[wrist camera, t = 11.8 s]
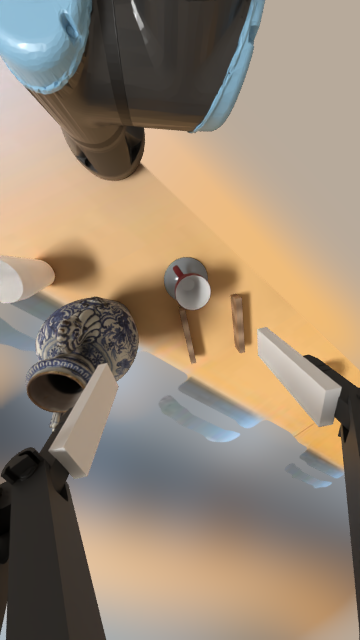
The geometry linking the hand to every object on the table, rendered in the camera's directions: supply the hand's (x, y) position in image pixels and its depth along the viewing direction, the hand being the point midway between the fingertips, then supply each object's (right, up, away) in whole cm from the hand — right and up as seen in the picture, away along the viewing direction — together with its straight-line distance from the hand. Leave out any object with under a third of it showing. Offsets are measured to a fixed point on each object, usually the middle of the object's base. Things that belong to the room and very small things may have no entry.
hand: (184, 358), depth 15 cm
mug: (+1, +14, +31) cm, 34 cm away
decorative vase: (-20, +4, +35) cm, 40 cm away
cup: (-36, +15, +28) cm, 48 cm away
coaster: (+1, +14, +32) cm, 35 cm away
